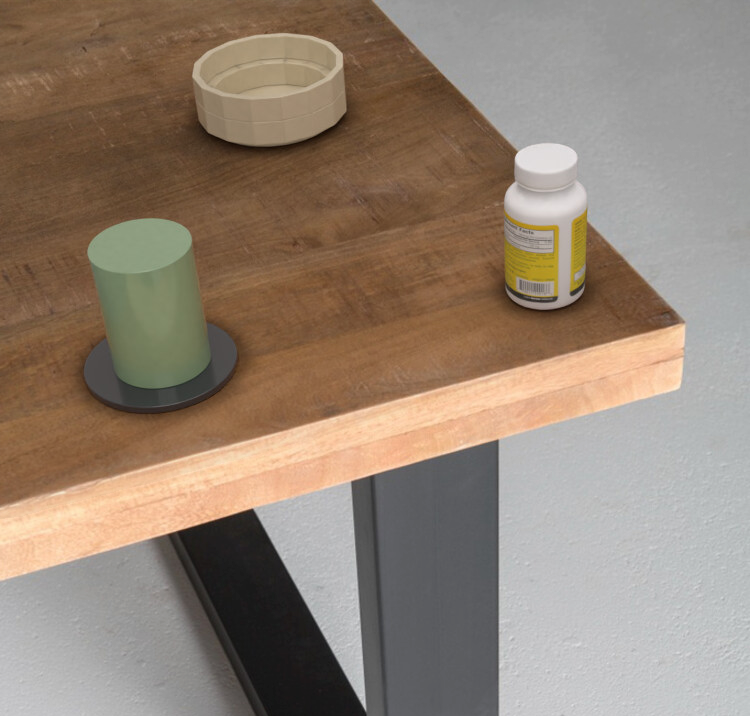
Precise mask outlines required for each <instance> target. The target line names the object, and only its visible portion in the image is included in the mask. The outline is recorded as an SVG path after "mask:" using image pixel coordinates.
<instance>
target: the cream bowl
mask: <svg viewBox="0 0 750 716" xmlns="http://www.w3.org/2000/svg"><path fill="white" fill-rule="evenodd" d="M344 60H345V59H344V54H343V52H342V51H341V50H340V49H339V48H338V47H337V46H336V45H335V44H333V43H332V42H330V41H327V40H325V39H322V38H320V37H316V36H313V35H310V34H309V35H308V34H298V33H290V32H289V33H288V32H278V33H266V34H253V35H250V36H246V37H242V38H238V39H233V40H229V41H226V42H225V43H222V44H221V45H218V46H216V47H214V48H211V49H209V50H207V51H206V52H205V53H204V54H202V56H201V57H200V58H198V59H197V60H196V61H195V62H194V64H193V69H192V74H191V80H192V85H193V92H194V98H195V99H194V100H195V104H196V111H197V118H198V122H199V124H201V126H202V127H203V128H204V130H205V131H206V133H207V134H210V135H212V136H214V137H216V138H219V139H221V140H223V141H226V142H229V143H233V144H236V145H241V146H246V147H258V148H259V147H260V148H261V147H263V148H264V147H266V148H267V147H268V148H269V147H281V146H287V145H292V144H296V143H301V142H303V141H306V140H309V139H311V138H314V137H316V136H318V135H319V134H321V133H323V132H325V131H327V130H328V129H330V128H331V127H334V126H335V125H336V124H337V123H338V122H339V121H340V120H341V119H342V117H343V116H344V115H345V114H346V113H347V105H348V104H347V103H348V102H347V100H348V99H347V87H346V75H345V74H346V73H345V63H344V62H345V61H344Z"/></svg>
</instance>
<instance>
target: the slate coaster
mask: <svg viewBox="0 0 750 716" xmlns="http://www.w3.org/2000/svg"><path fill="white" fill-rule="evenodd" d="M206 324H207V329H208V335H209V341H210V347H211V360H210V362H209V364H208V366H207V367H206V368H205V370H204V371H203V372H202V373H200V374H199V375H198V376H196V377H195V378H193V379H191V380H189V381H187V382H185V383H182V384H179V385H176V386H172V387H167V388H159V389H147V388H139V387H135V386H132V385H129V384H127V383H125V382H123V381H122V380H121V379H120V378H119V377H118V376H117V375H116V373H115V371H114V368H113V364H112V360H111V355H110V351H109V347H108V342H107V338H106V337H105V338H104V339H102V340H101V341H100V342H98V343H97V345H96V346H94V347H93V349H92V350H91V351H90V352H89V355H88V356H87V357H86V360H85V363H84V366H83V377H84V378H83V379H84V382H85V384H86V388H87V389H88V391H89V393H90V394H91V395H92V396H93V397H94V398H95V399H96V400H98V401H99V402H100V403H102V404H104V405H105V406H108V407H110V408H113V409H115V410H119V411H122V412H129V413H136V414H159V413H166V412H172V411H176V410H180V409H184V408H187V407H191V406H194V405H196V404H199V403H201V402H203V401H205V400H206V399H209V398H210V397H212V396H213V395H215V394H216V393H218V392H219V391H220V390H221V389H223V388H224V387H225V386H226V385H227V384H228V383H229V382H230V381H231V379H232V378H233V376H234V375H235V373H236V370H237V368H238V363H239V354H238V349H237V345H236V343H235V341H234V339H233V338H232V337H231V335H230V334H228V333H227V332H226V331H225V330H224V329H222V328H221V327H219V326H217V325H215V324H213V323H211V322H207V321H206Z"/></svg>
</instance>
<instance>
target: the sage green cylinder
mask: <svg viewBox="0 0 750 716" xmlns="http://www.w3.org/2000/svg"><path fill="white" fill-rule="evenodd" d="M86 253H87V259H88V263H89V267H90V272H91V276H92V281H93V285H94V289H95V294H96V298H97V302H98V306H99V312H100V315H101V320H102V325H103V329H104V334H105V338H107V342H108V347H109V351H110V355H111V360H112V364H113V368H114V371H115V373H116V375H117V376H118V377H119V378H120V379H121V380H122V381H123V382H125V383H127V384H129V385H132V386H135V387H139V388H147V389H159V388H167V387H172V386H176V385H179V384H182V383H185V382H187V381H189V380H191V379H193V378H195V377H196V376H198V375H199V374H200V373H202V372H203V371H204V370H205V368H206V367H207V366H208V364H209V362H210V360H211V347H210V341H209V335H208V329H207V324H206V322H207V318H206V311H205V306H204V301H203V300H204V299H203V295H202V290H201V283H200V278H199V277H200V276H199V271H198V266H197V258H196V254H195V248H194V241H193V237H192V234H191V231H189V229H188V228H187V227H185V226H184V225H182V224H181V223H178V222H176V221H173V220H170V219H166V218H158V217H157V218H155V217H153V218H152V217H150V218H146V217H145V218H137V219H131V220H126V221H122V222H119V223H117V224H114V225H112V226H109V227H108V228H105V229H103V230H102V231H101V232H99V233H98V234H97V235H96V236H94V237H93V238H92V240H91V241H90V243H89V244H88V247H87V252H86Z"/></svg>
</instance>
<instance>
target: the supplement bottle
mask: <svg viewBox="0 0 750 716" xmlns="http://www.w3.org/2000/svg"><path fill="white" fill-rule="evenodd" d="M578 157H579V156H578V154H577V152H576V151H575V150H574V149H573V148H571V147H569V146H567V145H565V144H560V143H553V142H542V143H535V144H531V145H528V146H525V147H524V148H521V149H520V150H519V151H518V152H517V153H516V154H515V156H514V171H513V174H514V182H513V183H512V184H511V185H510V186H509V187H508V188H507V190H506V192H505V195H504V199H503V200H504V201H503V224H504V225H503V235H504V236H503V241H504V245H503V247H504V285H505V291H506V294H507V296H508V297H509V298H510V299H511V300H512V301H513V302H514V303H516V304H518V305H519V306H521V307H524V308H527V309H533V310H539V311H546V310H547V311H548V310H555V309H560V308H563V307H566V306H569V305H571V304H573V303H574V302H576V301H577V300H578V299H579V298H580V297H581V296H582V295H583V293H584V290H585V285H586V268H587V267H586V263H587V261H586V260H587V259H586V258H587V234H588V233H587V232H588V231H587V230H588V207H589V205H588V204H589V203H588V202H589V201H588V193H587V190H586V189H585V187H584V186H583V185H582V184H581V182H580V181H578V180H577V179H578V174H579V158H578Z"/></svg>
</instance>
